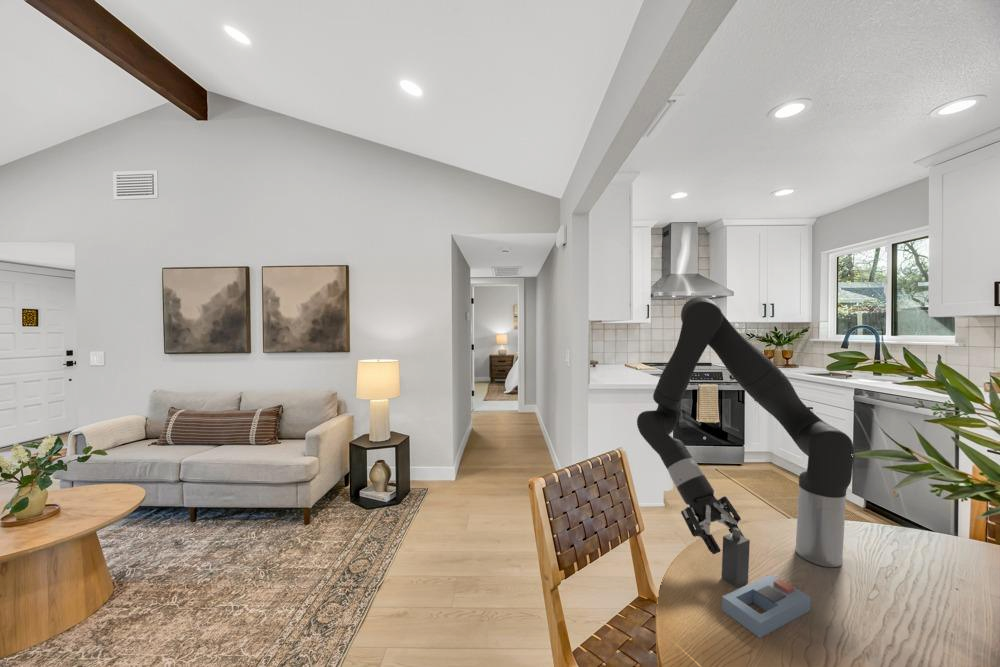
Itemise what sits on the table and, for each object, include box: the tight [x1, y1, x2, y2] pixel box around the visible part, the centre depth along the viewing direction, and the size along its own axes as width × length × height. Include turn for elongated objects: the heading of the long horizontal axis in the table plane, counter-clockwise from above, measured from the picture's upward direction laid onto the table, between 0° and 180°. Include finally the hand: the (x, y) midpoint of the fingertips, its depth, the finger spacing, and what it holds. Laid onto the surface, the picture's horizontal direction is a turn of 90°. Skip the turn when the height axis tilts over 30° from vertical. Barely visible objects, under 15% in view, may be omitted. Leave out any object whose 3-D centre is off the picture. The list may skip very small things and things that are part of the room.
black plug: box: [721, 527, 751, 588], centre depth 95 cm, size 4×4×12 cm
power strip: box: [721, 573, 812, 639], centre depth 86 cm, size 16×8×4 cm, turn 115°
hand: (729, 548), depth 96 cm, fingers open, 8 cm apart
